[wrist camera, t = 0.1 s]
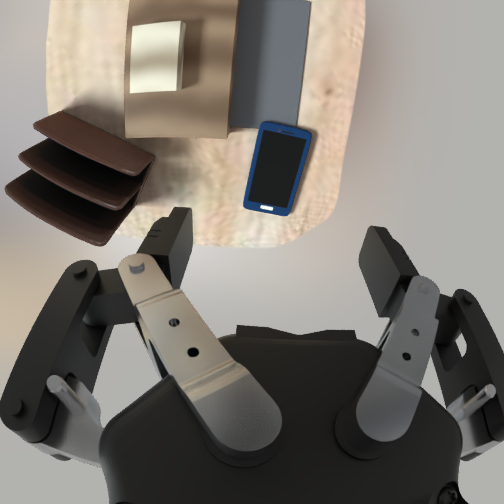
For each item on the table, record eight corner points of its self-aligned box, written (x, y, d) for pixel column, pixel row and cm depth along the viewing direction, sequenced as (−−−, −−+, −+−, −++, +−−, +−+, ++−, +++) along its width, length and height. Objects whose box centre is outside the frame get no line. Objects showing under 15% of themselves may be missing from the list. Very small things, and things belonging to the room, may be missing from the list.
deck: (142, -5, 24) (131, -11, 21) (242, -12, 25) (240, -20, 21) (136, 131, 37) (125, 138, 34) (229, 132, 37) (226, 139, 34)
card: (140, 28, 25) (132, 26, 23) (185, 23, 25) (180, 20, 23) (137, 91, 30) (129, 93, 28) (181, 89, 30) (176, 90, 28)
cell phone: (242, 206, 44) (241, 208, 43) (260, 119, 36) (260, 120, 35) (288, 215, 45) (288, 217, 44) (312, 131, 36) (313, 132, 36)
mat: (241, -6, 25) (241, -6, 25) (310, 1, 25) (310, 1, 25) (230, 126, 37) (229, 126, 37) (294, 132, 37) (294, 132, 37)
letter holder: (135, 206, 45) (99, 256, 33) (48, 160, 39) (-3, 195, 28) (157, 155, 40) (117, 194, 28) (61, 109, 34) (2, 133, 22)
